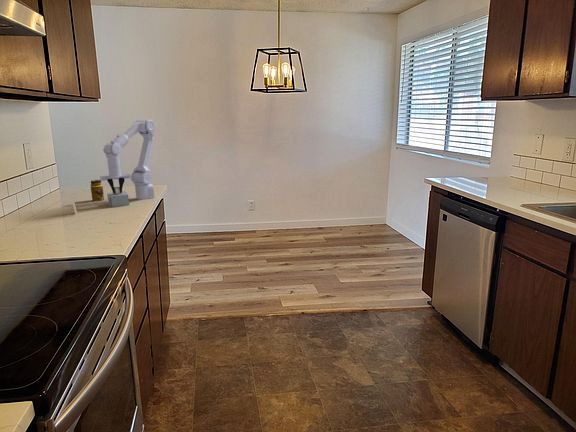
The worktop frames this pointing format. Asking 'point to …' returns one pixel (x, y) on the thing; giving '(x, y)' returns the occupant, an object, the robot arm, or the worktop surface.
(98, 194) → the condiment
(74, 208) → the worktop surface
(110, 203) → the cover
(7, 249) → the worktop surface
